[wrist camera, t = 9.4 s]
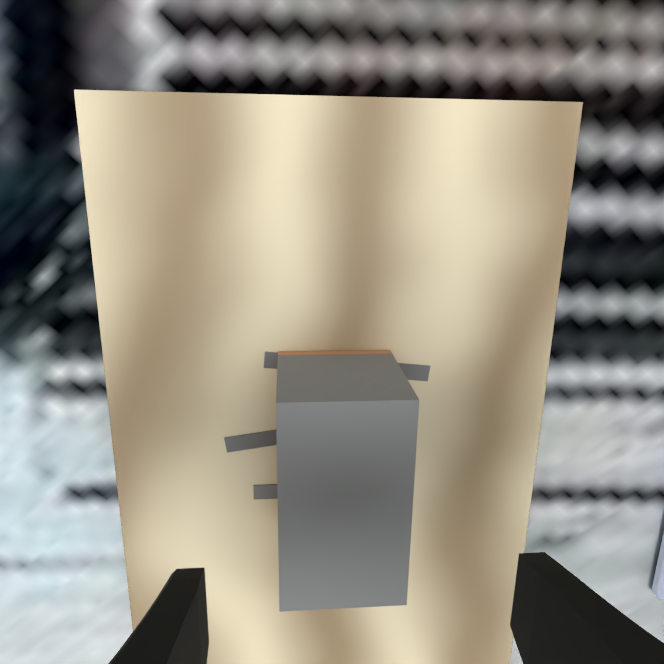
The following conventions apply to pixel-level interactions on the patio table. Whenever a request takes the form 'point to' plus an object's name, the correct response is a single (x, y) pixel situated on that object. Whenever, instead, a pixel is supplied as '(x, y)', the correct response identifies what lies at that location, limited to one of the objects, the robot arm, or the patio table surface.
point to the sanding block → (344, 479)
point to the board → (325, 339)
